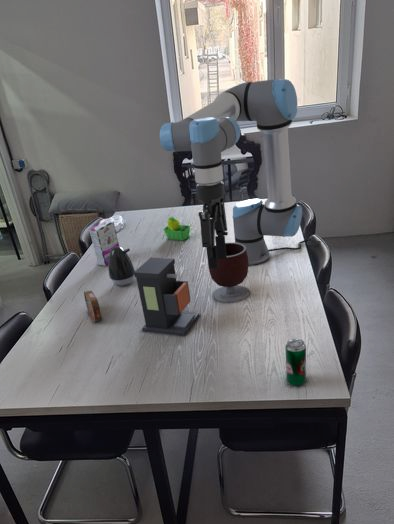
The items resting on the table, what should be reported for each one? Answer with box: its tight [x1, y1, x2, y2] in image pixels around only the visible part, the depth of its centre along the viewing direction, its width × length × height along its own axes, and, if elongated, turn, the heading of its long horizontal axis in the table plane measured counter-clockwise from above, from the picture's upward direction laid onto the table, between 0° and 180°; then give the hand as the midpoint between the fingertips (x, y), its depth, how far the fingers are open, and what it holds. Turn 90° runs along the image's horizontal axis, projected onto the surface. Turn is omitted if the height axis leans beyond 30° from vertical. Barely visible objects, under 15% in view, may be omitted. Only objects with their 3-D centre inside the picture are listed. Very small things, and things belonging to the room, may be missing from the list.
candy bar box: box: [88, 221, 120, 267], centre depth 211 cm, size 11×5×16 cm, turn 148°
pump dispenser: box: [107, 246, 136, 287], centre depth 190 cm, size 10×10×15 cm
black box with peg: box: [134, 257, 200, 336], centre depth 156 cm, size 15×13×21 cm
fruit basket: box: [162, 216, 191, 242], centre depth 227 cm, size 11×9×11 cm
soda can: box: [285, 337, 307, 387], centre depth 124 cm, size 5×5×12 cm
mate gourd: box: [207, 242, 249, 304], centre depth 168 cm, size 16×14×20 cm
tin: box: [83, 290, 102, 323], centre depth 171 cm, size 15×3×8 cm, turn 23°
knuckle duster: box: [97, 215, 127, 233], centre depth 254 cm, size 3×18×15 cm
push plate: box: [174, 283, 191, 314], centre depth 154 cm, size 1×8×7 cm, turn 157°
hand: (217, 262), depth 142 cm, fingers open, 6 cm apart
